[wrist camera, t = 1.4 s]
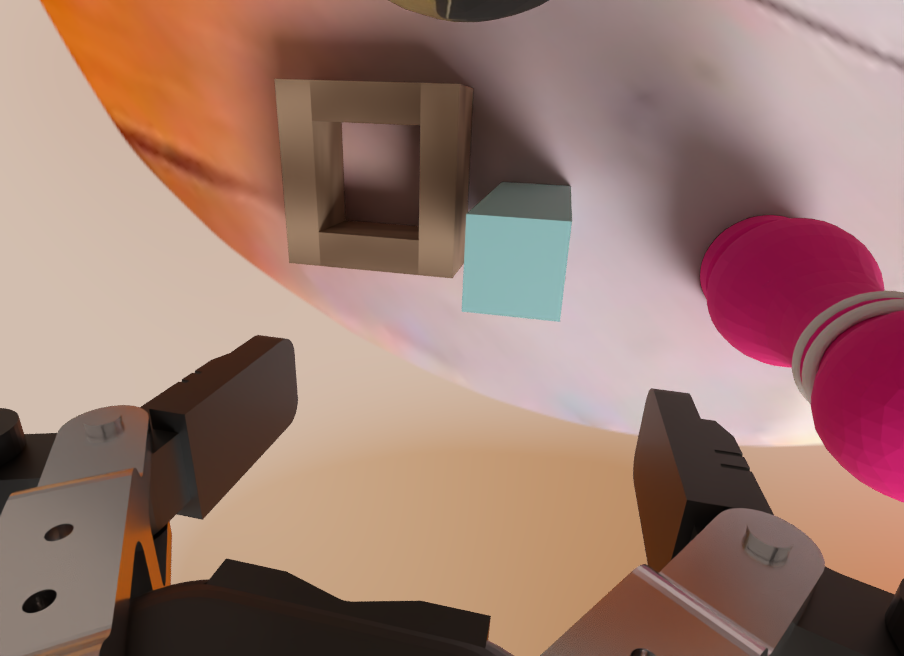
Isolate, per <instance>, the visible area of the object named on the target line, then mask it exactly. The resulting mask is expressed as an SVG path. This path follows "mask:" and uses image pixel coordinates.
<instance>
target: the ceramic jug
mask: <svg viewBox="0 0 904 656" xmlns="http://www.w3.org/2000/svg"><path fill="white" fill-rule="evenodd" d="M389 1H391V2H392V3H394V4H396V5H398V6H400V7H402V8H404V9H407V10H410V11H413V12H417V13H420V14H423V15H426V16H430V17H433V18H436V19H441V20H447V21H453V22H480V21H488V20H494V19H499V18H503V17H508V16H512V15H516V14H519V13H522V12H525V11H528V10H530V9H533V8H535V7H537V6H539V5H541V4H543V3H545V2H547V1H549V0H389Z"/></svg>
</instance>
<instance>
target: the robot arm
mask: <svg viewBox="0 0 904 656" xmlns="http://www.w3.org/2000/svg"><path fill="white" fill-rule="evenodd" d="M297 404H298V395H297V383H296V370H295V354H294V347H293V344H292V342H291V341H290V340H289V339H283V338H276V337H268V336H261V335H257V336H254V337H253V338H251V339H250V340H248V341H247V342H246V343H244V344H243V345H241V346H240V347H238V348H237V349H235V350H234V351H232V352H231V353H229V354H226V355H224V356H221V357H218V358H215V359H213V360H211V361H209V362H208V363H206V364H205V365H203V366H202V367H200V368H199V369H197V370H196V371H195V373H191V374H190V375H188V376H187V377H185V378H184V379H182V382H178V383H176V384H174V385H173V386H171V387H170V388H168V389H167V390H165V391H164V392H163V393H161V394H160V395H158V396H156V397H155V398H154V399H152V400H150V401H149V402H147V403H146V404H144V405H143V406H141V407H136V406H129V405H118V406H109V407H104V408H99V409H95V410H92V411H89V412H86V413H84V414H81V415H79V416H77V417H75V418H73V419H71V420H70V421H68V422H67V423H65V424H64V425H63V426H62V427H61V428H60V430H59V431H58V433H49V434H48V433H47V434H24V432H23V429H22V426H21V422H20V419H19V416H18V414H17V413H16V412H15V411H12V410H10V409H4V408H3V409H2V408H0V656H514V655H512V654H511V653H509V652H507V651H506V650H504V649H503V648H501V647H500V646H498V645H495V644H494V643H492V642H490V641H488V637H489V627H490V617H491V616H488V615H483V614H479V613H474V612H470V611H465V610H461V609H456V608H451V607H447V606H442V605H438V604H433V603H428V602H424V601H376V602H375V601H373V602H371V601H370V602H349V601H343V600H341V599H338V598H336V597H334V596H332V595H331V594H329V593H327V592H325V591H323V590H321V589H319V588H317V587H315V586H313V585H311V584H309V583H307V582H306V581H304V580H302V579H300V578H298V577H296V576H294V575H292V574H290V573H288V572H286V571H281V570H277V569H271V568H267V567H263V566H258V565H254V564H249V563H244V562H240V561H235V560H230V559H225V561H224V562H223V563H222V564H221V566H220V567H219V568H218V569H217V571H216V572H215V573H214V574H213V576H212V577H211V578H210V580H197V581H189V582H184V583H178V584H174V585H171V556H172V553H171V552H172V532H171V526H170V520H171V519H172V518H173V517H174V516H175V515H176V514H178V515H183V516H188V517H193V518H198V519H203V518H204V517H205V516H206V515H207V514H208V513H209V512H210V511H211V510H212V509H213V508H214V506H215V505H216V504H217V503H218V502H219V501H220V500H221V499H222V498H223V497H224V496H225V495H226V494H227V492H228V491H229V490H230V489H231V488H232V487H233V486H234V485H235V484H236V483H237V482H238V480H240V478H241V477H242V476H243V475H244V474H245V473H246V472H247V471H248V470H249V469H250V468H251V467H252V465H253V464H254V463H255V462H256V461H257V460H258V459H259V458H260V457H261V455H263V454H264V452H265V451H266V450H267V449H268V448H269V447H270V446H271V445H272V444H273V443H274V442H275V441H276V439H277V438H278V437H279V436H280V435H281V434H282V433H283V432H284V431H285V430H286V429H287V427H288V426H289V425H290V424H291V423H292V421H293V419H294V416H295V414H296V410H297ZM633 479H634V487H635V492H636V498H637V504H638V510H639V516H640V521H641V527H642V533H643V539H644V545H645V551H646V557H647V562H648V565H646V564H643V565H640V566H638V567H637V568H635V569H634V570H633V571H632V572H631V573H630V574H628V575H627V576H626V577H625V578H624V579H623V580H622V581H621V582H620V583H619V584H618V585H616V586H615V587H614V588H613V589H612V590H611V591H610V592H609V593H608V594H607V595H606V596H605V597H603V598H602V599H601V600H600V601H599V602H598V603H597V604H596V605H595V606H594V607H593V608H592V609H591V610H589V611H588V612H587V613H586V614H585V615H584V616H583V617H582V618H581V619H580V620H578V621H577V622H576V623H575V624H574V625H573V626H572V627H571V628H570V629H569V630H568V631H566V632H565V633H564V634H563V635H562V636H561V637H560V638H559V639H558V640H557V641H556V642H555V643H553V644H552V645H551V646H550V647H549V648H548V649H547V650H546V651H545V652H544V653H542V654H541V655H540V656H904V579H903V580H902V581H901V583H900V585H899V587H898V589H897V591H896V594H895V595H894V594H892V593H889V592H887V591H884V590H881V589H879V588H876V587H873V586H871V585H868V584H866V583H863V582H860V581H858V580H855V579H852V578H850V577H847V576H845V575H842V574H840V573H837V572H835V571H833V570H831V569H829V568H827V567H825V565H824V564H825V562H824V558H823V555H822V553H821V551H820V549H819V548H818V547H817V545H816V544H815V543H814V542H813V541H812V540H811V539H810V538H809V537H808V536H807V535H806V534H805V533H803V532H802V531H801V530H799V529H798V528H796V527H795V526H794V525H792V524H790V523H788V522H787V521H785V520H783V519H781V518H779V517H776V516H774V514H773V512H772V510H771V508H770V506H769V505H768V503H767V501H766V499H765V497H764V495H763V493H762V491H761V489H760V487H759V485H758V483H757V481H756V479H755V477H754V475H753V473H752V472H750V468H749V466H748V464H747V462H746V460H745V458H744V457H742V452H741V450H740V448H739V446H738V444H737V442H736V440H735V438H734V437H733V436H732V435H731V434H730V433H729V432H728V431H726V430H725V429H724V428H723V427H722V426H721V425H719V424H718V423H717V422H716V421H712V420H705V419H701V418H700V416H699V414H698V411H697V409H696V407H695V404H694V402H693V400H692V397H691V395H690V394H689V393H682V392H674V391H667V390H659V389H652V388H651V389H650V390H649V392H648V395H647V399H646V403H645V408H644V413H643V417H642V422H641V427H640V432H639V436H638V441H637V446H636V451H635V457H634V467H633Z"/></svg>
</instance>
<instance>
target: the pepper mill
mask: <svg viewBox="0 0 904 656" xmlns="http://www.w3.org/2000/svg"><path fill="white" fill-rule="evenodd" d="M700 282H701V288H702V290H703V293H704V295H705V297H706V299H707V306H708V311H709V314H710V317H711V319H712V322H713V324H714V325H715V327H716V329H717V330H718V331H719V333H720V334H721V335H722V336H723V337H724V338H725V339H726V340H727V341H728V342H729V343H730V344H731V345H732V346H733V347H735V348H736V349H737V350H739V351H740V352H742V353H743V354H745V355H746V356H749V357H751V358H753V359H756V360H758V361H761V362H763V363H766V364H770V365H774V366H782V367H791V368H792V372H793V377H794V380H795V383H796V385H797V387H798V389H799V391H800V392H801V394H802V395H803V396H804V398H805V399H806V400H807V401H808V402H809V403H810V404H811V409H812V415H813V420H814V425H815V429H816V431H817V433H818V435H819V437H820V438H821V440H822V442H823V444H824V445H825V447H826V449H827V450H828V451H829V452H830V453H831V455H832V456H833V457H834V458H835V459H836V460H837V461H838V462H839V464H840V465H841V466H842V467H843V468H845V469H846V470H847V471H848V472H849V473H851V474H852V475H853V476H854V477H855V478H857V479H858V480H859V481H860V482H862V483H864V484H866V485H867V486H869V487H871V488H872V489H874V490H876V491H878V492H880V493H882V494H884V495H887V496H889V497H891V498H894V499H896V500H898V501H901V502H904V293H903V292H896V291H884V284H883V278H882V273H881V271H880V269H879V266H878V264H877V262H876V261H875V259H874V257H873V256H872V254H871V253H870V252H869V250H868V249H867V248H866V247H865V245H864V244H862V243H861V242H860V241H859V240H858V239H856V238H855V237H854V236H853V235H851V234H849V233H847V232H846V231H844V230H842V229H841V228H839V227H837V226H835V225H832V224H830V223H827V222H825V221H820V220H815V219H807V218H791V219H790V218H787V217H783V216H776V215H763V216H756V217H752V218H748V219H745V220H743V221H740V222H738V223H736V224H734V225H732V226H731V227H729V228H728V229H726V230H725V231H723V232H722V233H721V234H720V235H719V236H718V237H717V238H716V239H715V240H714V241H713V243H712V244H711V245H710V247H709V248H708V250H707V252H706V254H705V256H704V258H703V261H702V264H701V270H700Z"/></svg>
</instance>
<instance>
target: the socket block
mask: <svg viewBox="0 0 904 656" xmlns="http://www.w3.org/2000/svg"><path fill="white" fill-rule="evenodd" d="M274 80H275V92H276V104H277V117H278V129H279V141H280V154H281V166H282V178H283V191H284V203H285V215H286V228H287V240H288V252H289V263H296V264H307V265H318V266H328V267H339V268H349V269H360V270H371V271H381V272H392V273H403V274H413V275H424V276H434V277H445V278H453V277H454V276H455V274H456V273H457V272H458V270H459V269H460V268H461V266H462V265H463V264H464V252H465V230H466V214H467V213H468V192H469V171H470V149H471V128H472V106H473V88H470V87H467V86H465V85H462V84H446V83H409V82H373V81H336V80H299V79H274ZM342 122H350V123H374V124H397V125H420V183H419V226H412V225H399V224H386V223H373V222H360V221H347V220H345V197H344V172H343V146H342Z"/></svg>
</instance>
